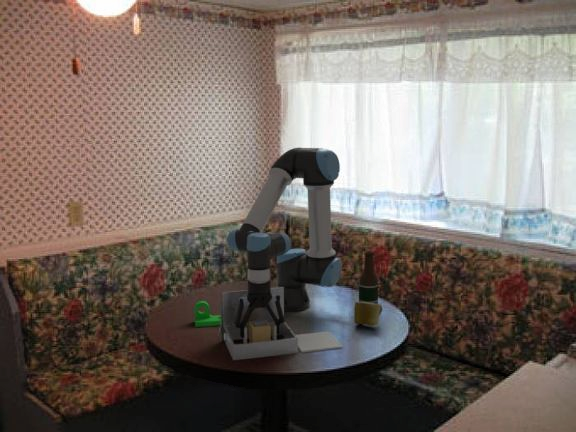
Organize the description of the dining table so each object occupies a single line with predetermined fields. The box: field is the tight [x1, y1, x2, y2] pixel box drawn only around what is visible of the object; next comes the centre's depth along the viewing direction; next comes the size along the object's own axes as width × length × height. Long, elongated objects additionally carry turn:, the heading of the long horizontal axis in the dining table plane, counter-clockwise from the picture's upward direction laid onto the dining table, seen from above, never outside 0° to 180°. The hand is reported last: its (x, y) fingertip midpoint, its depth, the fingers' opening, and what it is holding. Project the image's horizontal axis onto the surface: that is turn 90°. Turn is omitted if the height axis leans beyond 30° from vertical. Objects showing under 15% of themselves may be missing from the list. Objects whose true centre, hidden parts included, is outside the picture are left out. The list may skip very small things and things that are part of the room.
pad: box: [295, 330, 343, 354], centre depth 196 cm, size 14×14×1 cm
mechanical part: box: [194, 300, 221, 328], centre depth 215 cm, size 12×6×8 cm, turn 100°
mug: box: [353, 301, 383, 327], centre depth 211 cm, size 12×10×10 cm
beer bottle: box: [358, 250, 379, 304], centre depth 226 cm, size 8×8×24 cm
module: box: [248, 319, 272, 343], centre depth 193 cm, size 6×6×9 cm
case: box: [218, 286, 299, 361], centre depth 192 cm, size 23×18×17 cm
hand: (259, 344), depth 193 cm, fingers open, 9 cm apart
